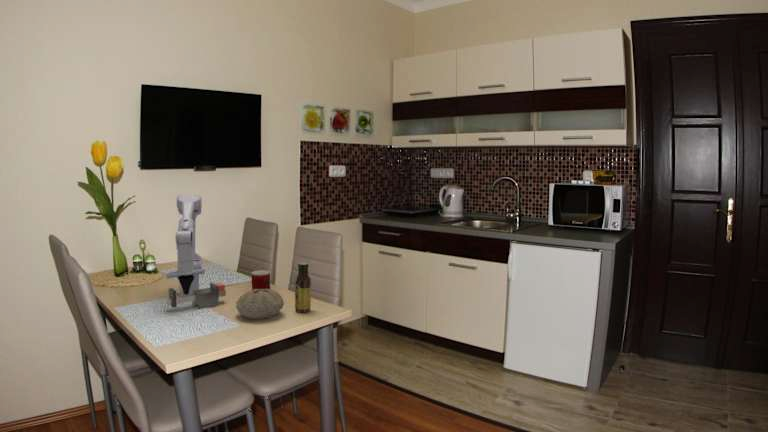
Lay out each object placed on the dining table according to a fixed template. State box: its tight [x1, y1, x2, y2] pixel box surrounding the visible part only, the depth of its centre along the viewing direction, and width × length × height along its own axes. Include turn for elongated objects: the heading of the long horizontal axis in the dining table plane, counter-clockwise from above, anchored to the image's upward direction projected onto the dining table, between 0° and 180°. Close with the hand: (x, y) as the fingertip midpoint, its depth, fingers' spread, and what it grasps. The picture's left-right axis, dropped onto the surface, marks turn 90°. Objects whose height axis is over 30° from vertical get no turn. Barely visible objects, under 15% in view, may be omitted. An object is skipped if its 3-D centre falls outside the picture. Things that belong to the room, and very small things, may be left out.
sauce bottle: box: [294, 261, 312, 314], centre depth 193 cm, size 7×6×20 cm
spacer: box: [215, 282, 226, 292], centre depth 202 cm, size 4×3×3 cm
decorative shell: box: [235, 288, 285, 320], centre depth 187 cm, size 18×18×10 cm
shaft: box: [165, 287, 227, 308], centre depth 196 cm, size 5×23×6 cm, turn 131°
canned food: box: [251, 269, 271, 290], centre depth 212 cm, size 8×8×11 cm
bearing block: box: [192, 282, 220, 310], centre depth 198 cm, size 7×8×8 cm
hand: (186, 293), depth 193 cm, fingers closed
